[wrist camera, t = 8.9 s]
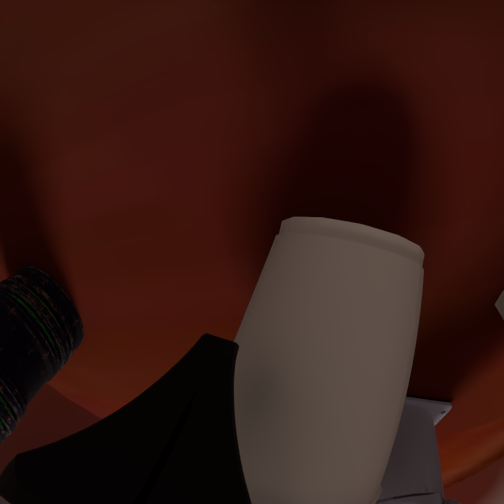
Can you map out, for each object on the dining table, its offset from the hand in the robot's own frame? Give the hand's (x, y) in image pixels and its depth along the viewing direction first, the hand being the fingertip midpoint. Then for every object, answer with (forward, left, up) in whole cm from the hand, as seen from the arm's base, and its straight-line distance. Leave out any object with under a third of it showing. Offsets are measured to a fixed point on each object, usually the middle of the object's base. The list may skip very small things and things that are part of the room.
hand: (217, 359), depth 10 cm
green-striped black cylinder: (-14, +19, -10) cm, 25 cm away
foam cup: (+3, -4, -6) cm, 8 cm away
